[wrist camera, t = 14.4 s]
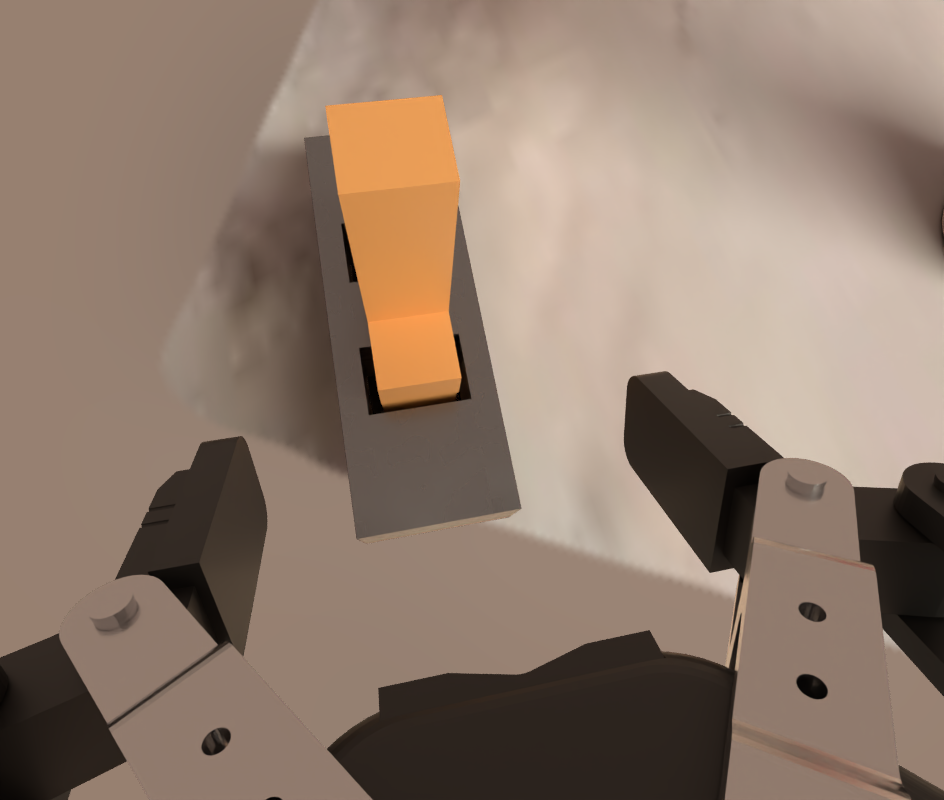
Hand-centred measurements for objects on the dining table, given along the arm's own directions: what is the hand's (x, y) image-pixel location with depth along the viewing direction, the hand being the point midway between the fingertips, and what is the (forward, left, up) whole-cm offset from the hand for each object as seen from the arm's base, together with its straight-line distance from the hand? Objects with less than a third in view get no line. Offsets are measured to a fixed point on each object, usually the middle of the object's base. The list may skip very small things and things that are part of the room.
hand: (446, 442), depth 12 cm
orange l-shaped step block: (-7, -6, -17) cm, 19 cm away
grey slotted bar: (-7, -7, -17) cm, 19 cm away
